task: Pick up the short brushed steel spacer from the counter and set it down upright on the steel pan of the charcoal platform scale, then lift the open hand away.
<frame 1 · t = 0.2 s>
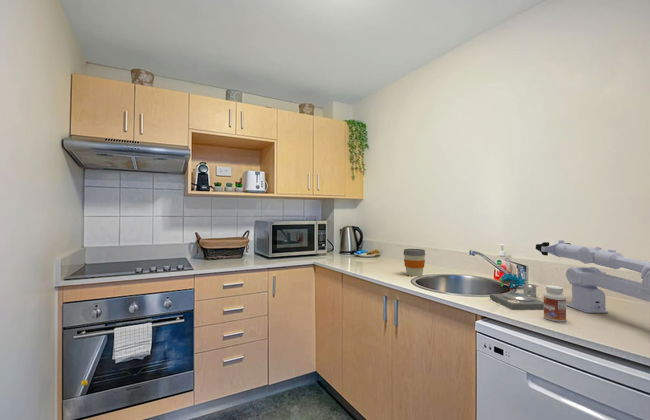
hand: (544, 247, 134), 21 cm above the table, tool horizontal, fingers open, 7 cm apart
teal lumpy piece: (512, 287, 148), on the table
reusable coffee cup: (414, 275, 179), on the table
steel spacer: (530, 296, 131), on the table
scale: (517, 303, 121), on the table
pill bottle: (554, 319, 103), on the table
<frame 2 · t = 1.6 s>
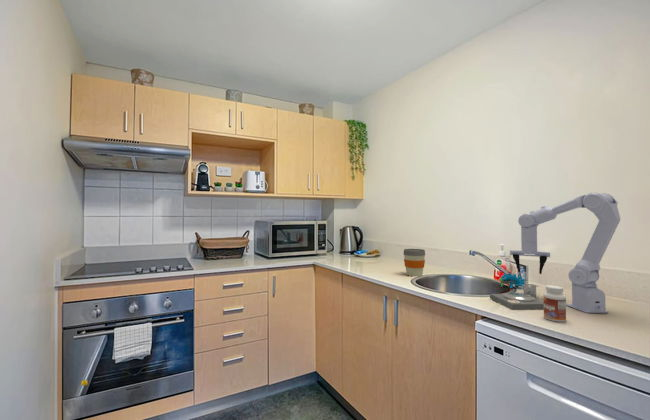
hand: (529, 272, 131), 10 cm above the table, tool pointing down, fingers open, 7 cm apart
nothing on the table moved.
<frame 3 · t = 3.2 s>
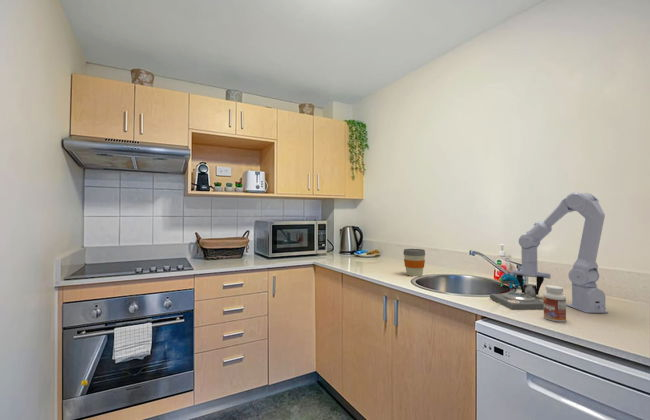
hand: (529, 293, 131), 1 cm above the table, tool pointing down, fingers closed on steel spacer, 5 cm apart
steel spacer: (530, 296, 131), on the table, touching gripper
everything else where it was.
when the fingers open (5 cm above the table, at t = 6.4 s): steel spacer stays where it is, resting on scale.
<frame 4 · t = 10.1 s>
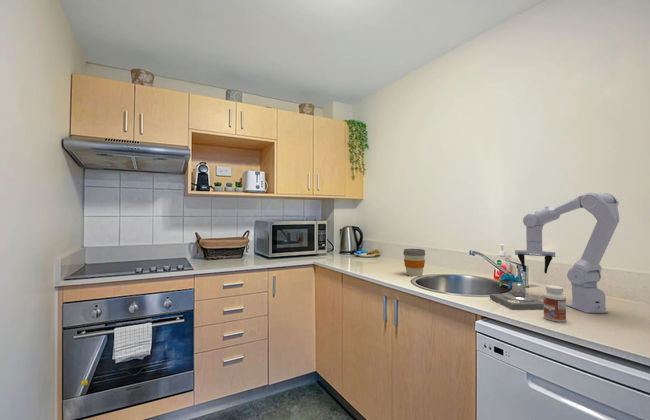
hand: (534, 272, 132), 10 cm above the table, tool pointing down, fingers open, 7 cm apart
steel spacer: (518, 295, 123), point 3 cm above the table, touching scale
at the end: steel spacer 0.4 cm from the target spot on the scale, point 2.6 cm above the scale's base; steel spacer tilted 0°; the gripper is holding nothing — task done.
